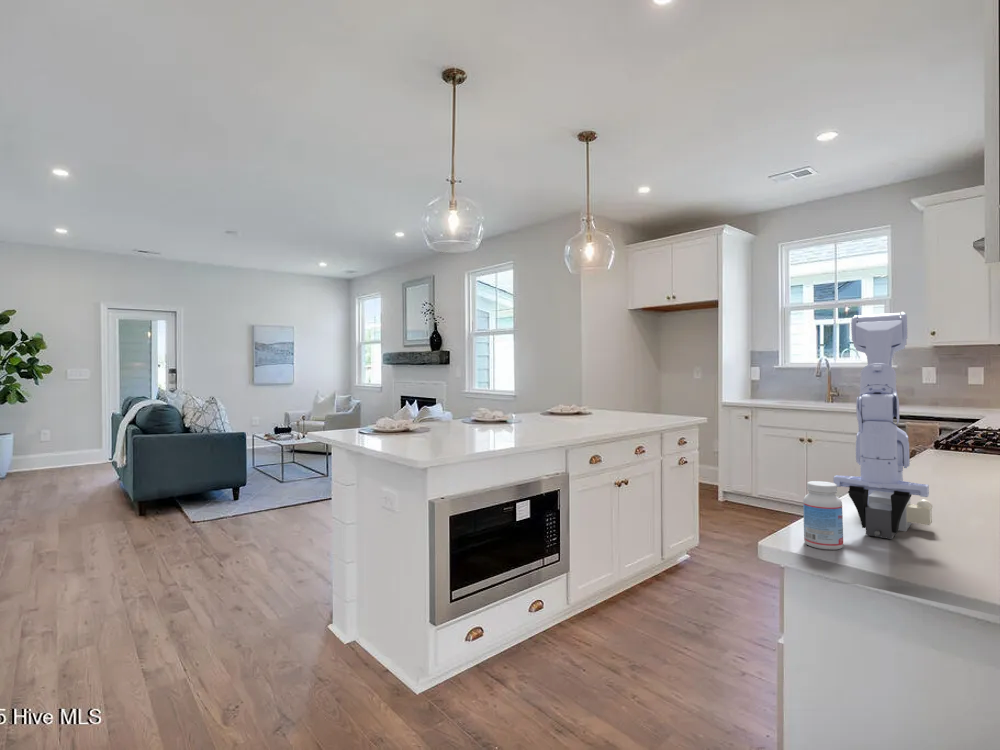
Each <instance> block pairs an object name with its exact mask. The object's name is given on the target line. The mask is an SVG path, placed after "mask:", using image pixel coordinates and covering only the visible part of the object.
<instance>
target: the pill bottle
mask: <svg viewBox="0 0 1000 750" xmlns="http://www.w3.org/2000/svg"><path fill="white" fill-rule="evenodd" d="M806 485H807V487H806V489H807V492H808V493H807V494H806V495H805V496H804V497H803V500H802V501H803V502H802V507H803V508H802V511H803V539H804V540H803V541H804V543H805V544H806V545H808V546H809V547H812V548H815V549H818V550H819V549H820V550H828V551H829V550H832V551H833V550H835V551H837V550H841V549H842V548H844V525H843V524H844V522H843V521H844V520H843V515H844V514H843V502H842V499H841V498H840V497H838V496H836V494H837V493H838V487H837V485H836V484H835V483H834V482H830V481H824V480H823V481H822V480H812V481H807V484H806Z"/></svg>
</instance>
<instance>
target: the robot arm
mask: <svg viewBox="0 0 1000 750" xmlns="http://www.w3.org/2000/svg"><path fill="white" fill-rule="evenodd" d="M850 325H851V330H850V331H851V341H852V343H853V347H854V348H855V351H857V352H861V353H863V354H865V355H866V359H867V365H866V366H864V367H863V368H862V369H861V370H860V380H859V381H860V382H859V396H858V395H857V396H856V401H855V402H856V403H855V405H856V406H855V407H856V408H855V409H856V412H855V413H856V419H857V420H856V421H857V425H858V431H857V433H856V440H855V461H856V463H857V464H858V466H860V476H854V475H853V476H852V475H851V476H850V475H839V474H838V475H834V476H833V483H835V484H836V485H837V488H841V487H843V488H848V492H847V494H848V496H849V497H850V499H851V501H852V503H853V504H854V506H855V509H856V511H857V513H858V516H859V520H860V523H861V528H862V529H866V518H865V507H866V506H867V505H868V504H869V502H868V496H869V495H870V494H871V493H872V492H874V491H881V492H889V493H894V494H892V495H891V505H892V533H896V534H897V533H898V532H899V530H898V529H899V523H900V519H901V516H902V513H903V511H904V509H905V507H906V505H907V503H908V501H909V499H910V500H911V497H912V496H919V497H923V498H928V497H929V495H930V488H929V487H930V485H929V484H924V483H917V482H916V483H915V482H910V481H905V480H904V478H903V477H904V476H903V471H904V469H908V467H910V461H911V460H910V442H909V435H908V434H907V432H906V431H904V430H903V429H901V428H899V427H898V426H897V425H898V424H899V422H900V398H899V396H898V395H899V394H898V389H897V373H896V370H895V369H894V367H893V359H894V356H895V354H896V353H897V352H900V351H903V350H904V349H906V346H907V344H908V343H907V340H908V315H907V313H905V311H901V312H893V313H879V314H877V313H876V314H864V315H863V314H862V315H857V314H855V315H854V316H852V317H851V324H850ZM894 418H896V423H894Z"/></svg>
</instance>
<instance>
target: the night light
mask: <svg viewBox="0 0 1000 750" xmlns="http://www.w3.org/2000/svg"><path fill="white" fill-rule="evenodd" d="M907 522H910V523H911V524H917V525H918V524H919V525H925V526H931V524H932V523H933V504H932V502H930V500H927V499H919V500H918V501H917V502H916V504H915V503H913V504H912V503H911V504H909V505H908V506H907Z"/></svg>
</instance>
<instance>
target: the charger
mask: <svg viewBox="0 0 1000 750" xmlns="http://www.w3.org/2000/svg"><path fill="white" fill-rule="evenodd" d="M865 518H866V528H865V536H870V537H876V538H883V539H889V540H892V539H893V538H894V537H895V535H896V534H897V533H892V505H887V504H880V503H872V502H871V503H870V504H868V505H867V506H866V507H865Z"/></svg>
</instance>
